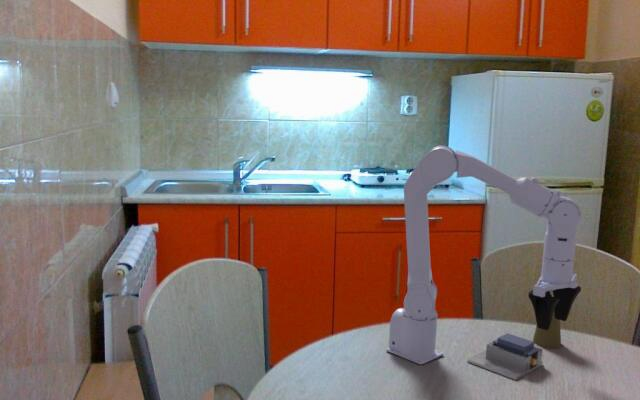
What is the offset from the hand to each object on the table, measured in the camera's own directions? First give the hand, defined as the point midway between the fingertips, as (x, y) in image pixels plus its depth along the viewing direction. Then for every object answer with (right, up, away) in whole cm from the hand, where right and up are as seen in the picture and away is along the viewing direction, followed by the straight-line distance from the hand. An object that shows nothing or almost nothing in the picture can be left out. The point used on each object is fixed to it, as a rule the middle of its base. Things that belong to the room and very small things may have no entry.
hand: (552, 324), depth 122 cm
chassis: (-8, -9, +5) cm, 13 cm away
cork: (+5, -8, +16) cm, 19 cm away
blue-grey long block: (-6, -9, +5) cm, 11 cm away
